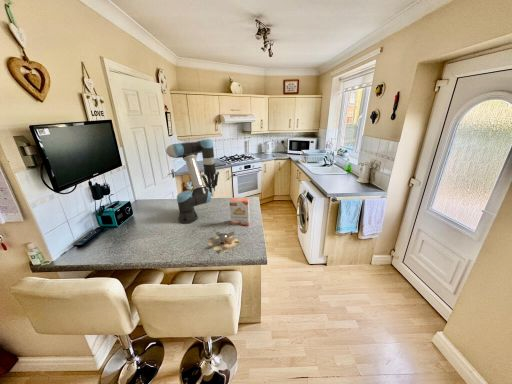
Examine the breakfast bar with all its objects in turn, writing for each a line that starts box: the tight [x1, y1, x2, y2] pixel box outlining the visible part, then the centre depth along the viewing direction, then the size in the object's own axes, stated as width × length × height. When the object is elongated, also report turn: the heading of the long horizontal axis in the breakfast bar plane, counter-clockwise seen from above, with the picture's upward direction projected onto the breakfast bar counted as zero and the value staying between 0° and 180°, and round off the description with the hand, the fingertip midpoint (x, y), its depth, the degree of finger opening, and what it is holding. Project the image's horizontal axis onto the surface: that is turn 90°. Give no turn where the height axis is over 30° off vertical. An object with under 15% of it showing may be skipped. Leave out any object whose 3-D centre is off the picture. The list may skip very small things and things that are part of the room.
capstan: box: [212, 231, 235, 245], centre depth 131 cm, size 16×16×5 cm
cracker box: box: [229, 197, 251, 227], centre depth 152 cm, size 14×6×21 cm, turn 84°
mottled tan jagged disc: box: [206, 232, 242, 255], centre depth 132 cm, size 17×17×3 cm
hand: (212, 196), depth 141 cm, fingers closed
